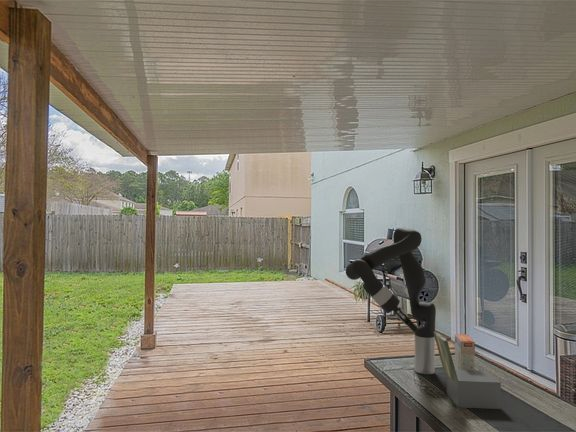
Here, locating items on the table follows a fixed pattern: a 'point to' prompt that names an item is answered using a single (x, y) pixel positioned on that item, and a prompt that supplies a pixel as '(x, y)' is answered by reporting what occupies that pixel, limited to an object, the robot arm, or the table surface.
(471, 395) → the block
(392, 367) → the table surface
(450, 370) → the lid
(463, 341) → the cracker box
